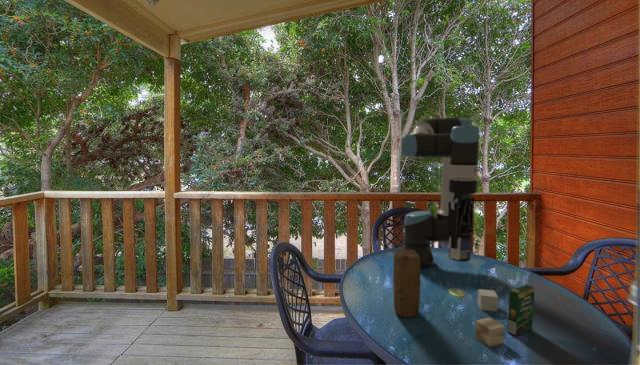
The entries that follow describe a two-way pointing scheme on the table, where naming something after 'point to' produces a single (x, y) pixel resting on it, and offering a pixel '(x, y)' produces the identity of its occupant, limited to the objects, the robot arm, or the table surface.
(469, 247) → the pill bottle
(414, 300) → the block
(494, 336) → the birch cube
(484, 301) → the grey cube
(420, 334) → the table surface
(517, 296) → the coffee box
